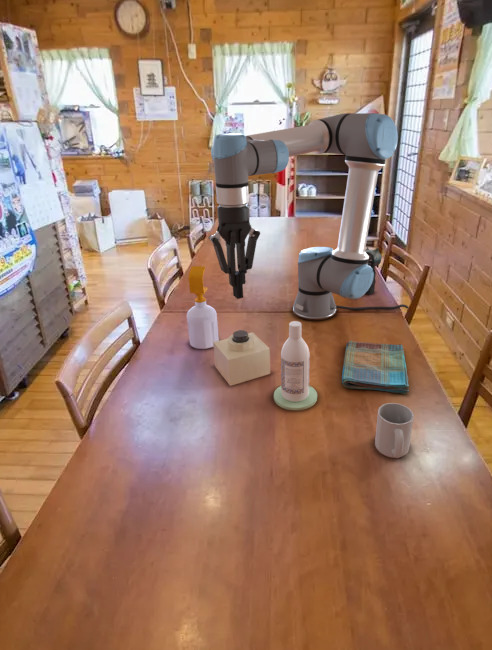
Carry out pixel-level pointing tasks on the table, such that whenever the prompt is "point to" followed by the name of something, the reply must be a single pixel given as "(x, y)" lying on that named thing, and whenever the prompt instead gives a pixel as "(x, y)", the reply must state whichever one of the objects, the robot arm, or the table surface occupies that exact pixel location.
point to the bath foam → (295, 365)
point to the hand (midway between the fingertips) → (238, 296)
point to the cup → (393, 429)
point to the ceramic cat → (373, 265)
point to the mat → (295, 405)
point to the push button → (240, 336)
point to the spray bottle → (201, 314)
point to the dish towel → (375, 367)
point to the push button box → (242, 359)
